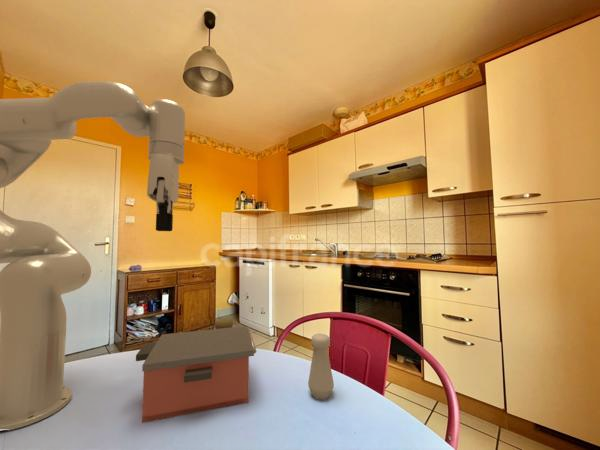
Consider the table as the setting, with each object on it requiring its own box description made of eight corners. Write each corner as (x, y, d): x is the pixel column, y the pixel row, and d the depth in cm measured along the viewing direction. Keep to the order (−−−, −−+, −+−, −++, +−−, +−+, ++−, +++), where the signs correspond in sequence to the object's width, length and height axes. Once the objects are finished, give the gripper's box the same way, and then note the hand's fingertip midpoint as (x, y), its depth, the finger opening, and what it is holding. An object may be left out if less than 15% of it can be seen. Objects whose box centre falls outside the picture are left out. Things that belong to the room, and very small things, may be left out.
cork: (236, 352, 78) (237, 316, 78) (229, 361, 72) (229, 322, 72) (218, 351, 78) (218, 315, 79) (209, 360, 72) (209, 321, 73)
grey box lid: (126, 373, 47) (127, 366, 47) (150, 340, 62) (150, 335, 62) (256, 355, 54) (256, 349, 54) (249, 329, 69) (249, 325, 69)
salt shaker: (315, 383, 60) (315, 329, 61) (337, 391, 57) (337, 333, 58) (303, 397, 55) (303, 337, 56) (327, 405, 52) (326, 342, 53)
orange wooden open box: (137, 432, 45) (139, 376, 46) (161, 377, 63) (162, 338, 64) (249, 409, 51) (249, 360, 52) (242, 365, 69) (242, 329, 70)
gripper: (156, 162, 66) (154, 231, 65) (138, 141, 52) (135, 229, 50) (187, 165, 68) (185, 232, 67) (178, 145, 54) (176, 230, 53)
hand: (164, 230), depth 59 cm, fingers closed
